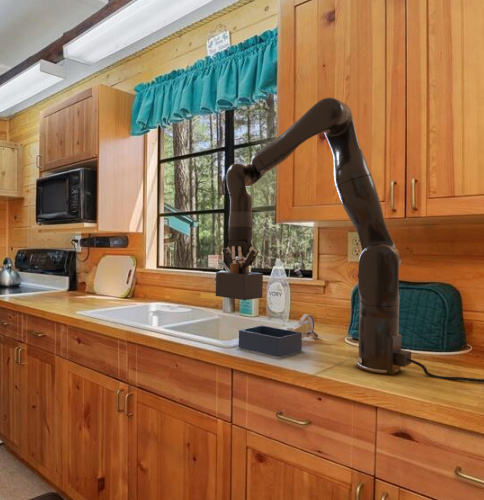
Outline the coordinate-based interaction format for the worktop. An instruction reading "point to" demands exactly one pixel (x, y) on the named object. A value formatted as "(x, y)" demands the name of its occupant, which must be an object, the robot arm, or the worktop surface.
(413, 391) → the worktop surface
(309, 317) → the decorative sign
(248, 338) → the box
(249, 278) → the upper tote
